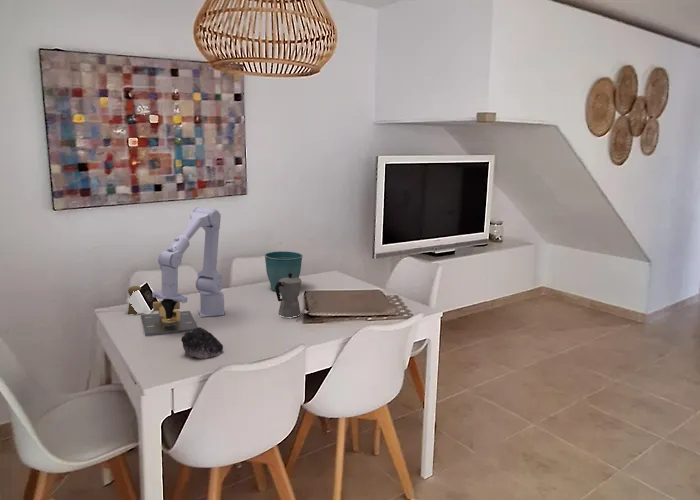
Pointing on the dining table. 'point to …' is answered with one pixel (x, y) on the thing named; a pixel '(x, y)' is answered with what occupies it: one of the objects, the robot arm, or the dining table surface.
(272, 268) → the flower pot
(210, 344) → the crystal cluster
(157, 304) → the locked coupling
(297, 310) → the coffeepot
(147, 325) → the plate
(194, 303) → the dining table surface
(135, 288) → the cork
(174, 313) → the brass lever handle
